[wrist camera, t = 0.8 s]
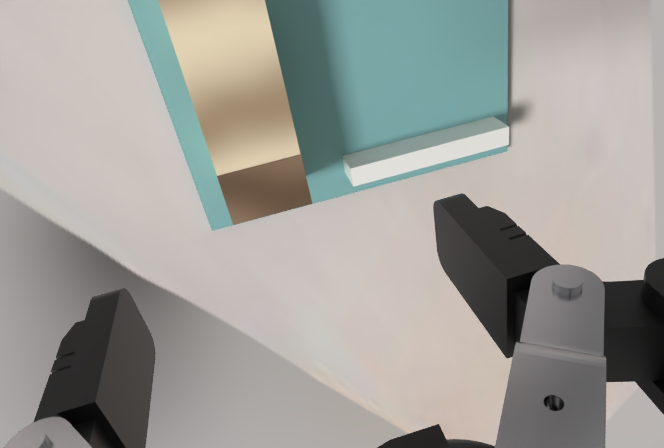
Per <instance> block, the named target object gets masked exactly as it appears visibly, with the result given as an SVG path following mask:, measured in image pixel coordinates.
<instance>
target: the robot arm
mask: <svg viewBox="0 0 664 448" xmlns="http://www.w3.org/2000/svg"><path fill="white" fill-rule="evenodd" d="M433 209H434V221H435V232H436V242H437V252H438V256H439V260H440V263H441V265H442V267H443V269H444V271H445V273H446V274H447V276H448V277H449V278H450V280H451V281H452V283H453V284H454V285H455V287H456V288H457V290H458V291H459V292H460V294H461V295H462V297H463V298H464V299H465V301H466V302H467V304H468V305H469V306H470V308H471V309H472V311H473V312H474V313H475V315H476V316H477V318H478V319H479V320H480V322H481V323H482V325H483V326H484V327H485V329H486V330H487V332H488V333H489V334H490V336H491V337H492V339H493V340H494V341H495V343H496V344H497V346H498V347H499V348H500V350H501V351H502V353H503V354H504V355H505V357H506V358H510V357H513V359H512V364H511V369H510V374H509V379H508V384H507V389H506V394H505V399H504V404H503V410H502V415H501V420H500V425H499V430H498V435H497V440H496V445H495V446H493V445H489V444H485V443H482V442H477V441H471V440H460V439H449V440H446V438H445V436H444V434H443V432H442V430H441V428H440V426H439V424H437V425H434V426H431V427H428V428H425V429H422V430H419V431H416V432H413V433H410V434H407V435H404V436H401V437H398V438H394V439H392V440H389V441H388V442H386V443H384V444H383V445H381V446H379V447H378V448H605V427H606V426H605V424H606V382H629V381H635V382H636V383H637V384H638V386H639V387H640V388H641V389H642V390H643V391H644V392H645V394H646V395H647V396H648V397H649V398H650V399H651V400H652V402H653V403H654V404H655V405H656V406H657V407H658V409H659V410H660V411H661V412H662V413H663V414H664V258H663V259H659V260H656V261H654V262H652V263H651V264H649V265H648V266H647V268H646V270H645V274H644V280H634V281H616V282H602V281H601V279H600V278H599V277H598V276H597V275H595V274H594V273H593V272H591V271H589V270H587V269H584V268H581V267H578V266H573V265H560V264H559V263H558V262H557V261H556V260H555V259H554V258H552V257H551V256H550V255H549V254H548V253H547V252H546V251H545V250H544V249H543V248H542V247H541V246H540V245H538V244H537V243H536V242H535V241H534V240H533V239H532V238H531V237H530V236H529V235H526V232H524V231H523V230H522V229H521V228H520V227H519V226H518V227H517V225H516V223H515V222H514V221H513V220H512V219H510V218H509V217H508V216H507V215H506V214H505V213H503V212H501V211H498V210H496V209H493V208H491V207H489V206H485V207H482V208H478V207H477V206H476V205H475V204H474V203H473V202H472V201H471V200H470V199H469V198H468V197H467V196H466V195H465V194H458V195H455V196H451V197H448V198H444V199H441V200H437V201H435V202H434V207H433ZM56 358H57V360H55V361H54V364H53V367H52V370H51V372H52V374H51V375H50V376H49V379H48V382H47V385H46V388H45V390H44V393H43V397H42V399H41V402H40V405H39V408H38V411H37V414H36V417H35V420H34V422H33V423H32V424H30V425H28V426H26V427H25V428H23V429H22V430H21V431H19V432H18V433H17V434H16V435H14V436H13V437H12V438H11V439H10V440H9V441H8V443H7V444H6V445H5V446H4V447H3V448H145V446H146V437H147V428H148V418H149V410H150V401H151V392H152V382H153V373H154V364H155V347H154V342H153V338H152V336H151V333H150V331H149V329H148V327H147V325H146V323H145V321H144V320H143V318H142V316H141V314H140V312H139V310H138V308H137V306H136V304H135V302H134V300H133V298H132V297H131V295H130V293H129V292H128V291H127V290H126V289H125V288H123V289H119V290H115V291H112V292H108V293H105V294H101V295H98V296H94V297H92V299H91V301H90V305H89V308H88V311H87V314H86V318H85V320H84V321H81V322H77V323H75V325H73V327H72V328H71V329H70V331H69V332H68V333H67V335H66V336H65V337H64V338H63V339H62V341H61V344H60V347H59V350H58V353H57V356H56Z"/></svg>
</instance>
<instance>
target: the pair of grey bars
mask: <svg viewBox="0 0 664 448" xmlns="http://www.w3.org/2000/svg"><path fill="white" fill-rule="evenodd" d="M506 145H509V126H508V125H506V124H504V123H503V122H501V121H500V120H498V119H496V118H495V117H493V116H492V117H489V118H485V119H481V120H477V121H473V122H470V123H466V124H462V125H458V126H454V127H451V128H447V129H443V130H439V131H435V132H432V133H428V134H424V135H420V136H416V137H412V138H409V139H405V140H401V141H397V142H393V143H390V144H386V145H382V146H378V147H374V148H371V149H367V150H363V151H359V152H355V153H352V154H348V155H344V156H342V157H343V163H344V168H345V173H346V175H347V177H348V178H349V180H350V182H351V183H352V185H353V187H354V186H358V185H361V184H365V183H369V182H373V181H376V180H380V179H384V178H387V177H391V176H395V175H399V174H402V173H406V172H410V171H413V170H417V169H421V168H425V167H428V166H432V165H436V164H439V163H443V162H447V161H451V160H454V159H458V158H462V157H465V156H469V155H473V154H477V153H480V152H484V151H488V150H491V149H495V148H499V147H503V146H506Z"/></svg>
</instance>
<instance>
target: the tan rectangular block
mask: <svg viewBox="0 0 664 448" xmlns="http://www.w3.org/2000/svg"><path fill="white" fill-rule="evenodd" d="M158 2H159V5H160V8H161V11H162V14H163V17H164V20H165V23H166V26H167V29H168V32H169V34H170V37H171V40H172V43H173V46H174V49H175V52H176V55H177V58H178V61H179V64H180V67H181V70H182V73H183V76H184V79H185V82H186V85H187V88H188V91H189V94H190V97H191V100H192V103H193V106H194V109H195V112H196V115H197V118H198V121H199V124H200V127H201V130H202V132H203V135H204V138H205V141H206V144H207V147H208V150H209V153H210V156H211V159H212V162H213V165H214V168H215V171H216V174H217V178H218V181H219V184H220V187H221V190H222V193H223V196H224V199H225V202H226V205H227V208H228V211H229V214H230V217H231V220H232V223H233V225H235V224H239V223H243V222H246V221H250V220H254V219H257V218H261V217H265V216H268V215H272V214H276V213H280V212H283V211H287V210H291V209H294V208H298V207H302V206H305V205H309V204H312V200H311V195H310V191H309V187H308V182H307V178H306V174H305V169H304V165H303V161H302V157H301V154H300V149H299V145H298V141H297V136H296V132H295V128H294V124H293V119H292V115H291V111H290V106H289V102H288V98H287V93H286V89H285V85H284V81H283V76H282V72H281V68H280V63H279V59H278V55H277V50H276V46H275V42H274V38H273V33H272V29H271V25H270V20H269V16H268V12H267V7H266V3H265V0H158Z"/></svg>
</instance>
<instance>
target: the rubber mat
mask: <svg viewBox="0 0 664 448" xmlns="http://www.w3.org/2000/svg"><path fill="white" fill-rule="evenodd" d="M128 2H129V5H130V8H131V11H132V13H133V16H134V19H135V22H136V24H137V27H138V30H139V33H140V35H141V38H142V41H143V43H144V46H145V49H146V52H147V54H148V57H149V60H150V63H151V65H152V68H153V71H154V73H155V76H156V79H157V82H158V84H159V87H160V90H161V93H162V95H163V98H164V101H165V104H166V106H167V109H168V112H169V114H170V117H171V120H172V123H173V125H174V128H175V131H176V134H177V136H178V139H179V142H180V144H181V147H182V150H183V153H184V155H185V158H186V161H187V164H188V166H189V169H190V172H191V174H192V177H193V180H194V183H195V185H196V188H197V191H198V194H199V196H200V199H201V202H202V205H203V207H204V210H205V213H206V215H207V218H208V221H209V224H210V226H211V229H212V231H213V230H217V229H221V228H225V227H228V226H232V225H233V223H232V220H231V217H230V214H229V211H228V208H227V205H226V202H225V199H224V196H223V193H222V190H221V187H220V184H219V181H218V178H217V174H216V171H215V168H214V165H213V162H212V159H211V156H210V153H209V150H208V147H207V144H206V141H205V138H204V135H203V132H202V130H201V127H200V124H199V121H198V118H197V115H196V112H195V109H194V106H193V103H192V100H191V97H190V94H189V91H188V88H187V85H186V82H185V79H184V76H183V73H182V70H181V67H180V64H179V61H178V58H177V55H176V52H175V49H174V46H173V43H172V40H171V37H170V34H169V32H168V29H167V26H166V23H165V20H164V17H163V14H162V11H161V8H160V5H159V2H158V0H128ZM265 3H266V7H267V12H268V16H269V20H270V25H271V29H272V33H273V38H274V42H275V46H276V50H277V55H278V59H279V63H280V68H281V72H282V76H283V81H284V85H285V89H286V93H287V98H288V102H289V106H290V111H291V115H292V119H293V124H294V128H295V132H296V136H297V141H298V145H299V149H300V154H301V157H302V161H303V165H304V169H305V174H306V178H307V182H308V187H309V191H310V195H311V200H312V204H313V203H317V202H321V201H324V200H328V199H332V198H335V197H339V196H343V195H347V194H350V193H354V192H358V191H361V190H365V189H369V188H372V187H376V186H380V185H384V184H387V183H391V182H395V181H398V180H402V179H406V178H409V177H413V176H417V175H421V174H424V173H428V172H432V171H435V170H439V169H443V168H446V167H450V166H454V165H458V164H461V163H465V162H469V161H472V160H476V159H480V158H483V157H487V156H491V155H495V154H498V153H502V152H506V151H507V145H506V146H503V147H499V148H495V149H491V150H488V151H484V152H480V153H477V154H473V155H469V156H465V157H462V158H458V159H454V160H451V161H447V162H443V163H439V164H436V165H432V166H428V167H425V168H421V169H417V170H413V171H410V172H406V173H402V174H399V175H395V176H391V177H387V178H384V179H380V180H376V181H373V182H369V183H365V184H361V185H358V186H354V187H353V185H352V183H351V182H350V180H349V178H348V177H347V175H346V173H345V168H344V163H343V157H342V156H344V155H348V154H352V153H355V152H359V151H363V150H367V149H371V148H374V147H378V146H382V145H386V144H390V143H393V142H397V141H401V140H405V139H409V138H412V137H416V136H420V135H424V134H428V133H432V132H435V131H439V130H443V129H447V128H451V127H454V126H458V125H462V124H466V123H470V122H473V121H477V120H481V119H485V118H489V117H492V116H493V117H495V118H496V119H498V120H500V121H501V122H503V123H504V124H506V125H508V0H265ZM309 205H310V204H309ZM305 206H306V205H305ZM298 208H299V207H298ZM294 209H295V208H294ZM283 212H284V211H283ZM272 215H273V214H272ZM268 216H269V215H268ZM261 218H262V217H261ZM257 219H258V218H257ZM246 222H247V221H246ZM235 225H236V224H235Z"/></svg>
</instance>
